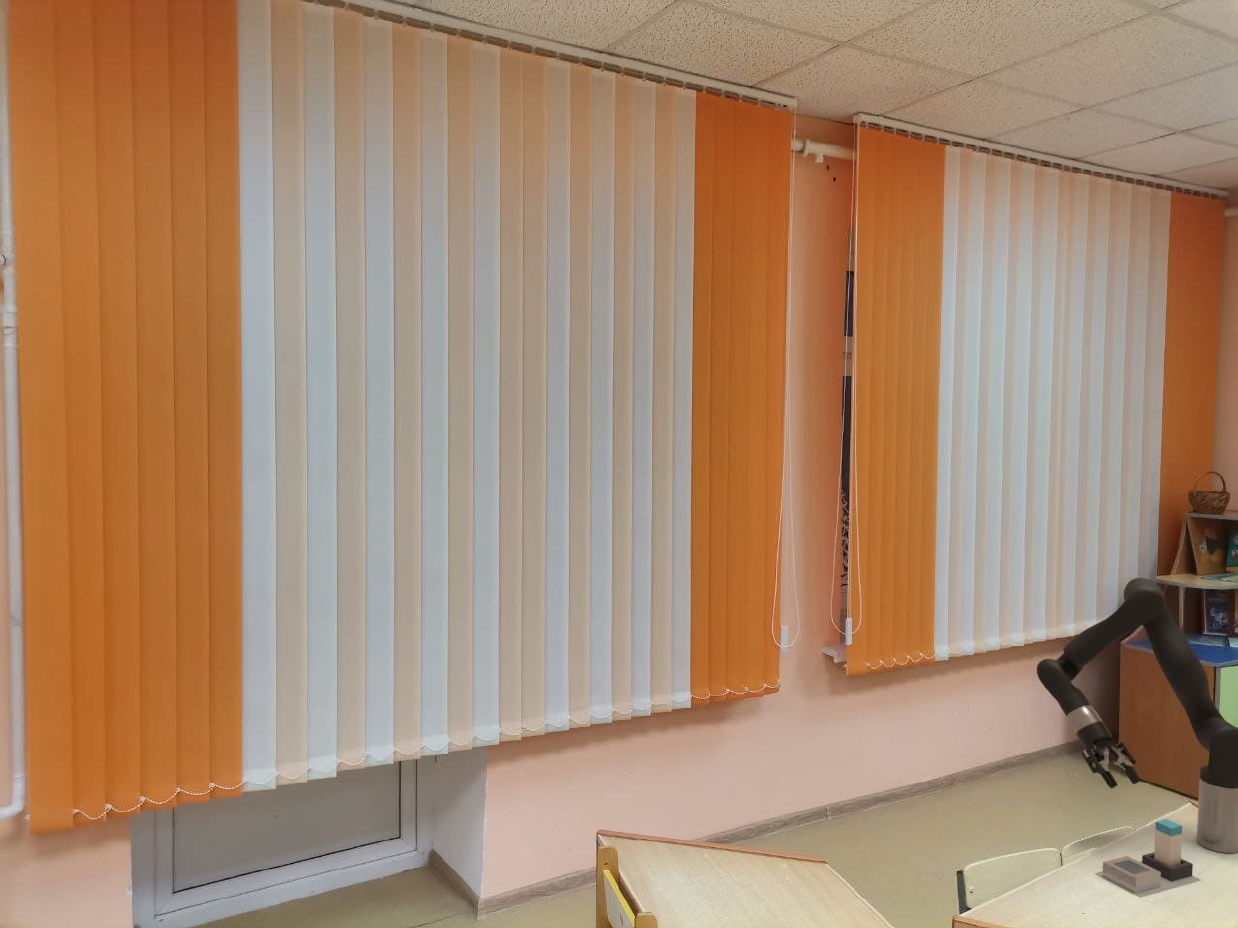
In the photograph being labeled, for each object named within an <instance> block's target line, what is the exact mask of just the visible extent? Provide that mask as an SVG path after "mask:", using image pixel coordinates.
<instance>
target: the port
mask: <svg viewBox="0 0 1238 928" xmlns="http://www.w3.org/2000/svg"><path fill="white" fill-rule="evenodd" d="M1102 871H1103V875H1102V876H1103V877H1105V878H1107V879H1109V880H1111V881H1113V882H1115V883H1117V884H1118V885H1120V886H1122V887H1124V888H1126V889H1128V890H1130V891H1132V892H1134V893H1139V892H1142V891H1146V890H1149V889H1153V888H1157V887H1160V877H1161V872H1160V871H1157V870H1155V869H1153V868H1151V867H1149V866H1147V865H1145V864H1143V863H1141V862H1140V861H1138V860H1137V859H1134V858H1133V857H1131V856H1128V855H1125V856H1121V857H1117V858H1115V859H1114V858H1113V859H1110V860H1105V861H1103V862H1102Z"/></svg>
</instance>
